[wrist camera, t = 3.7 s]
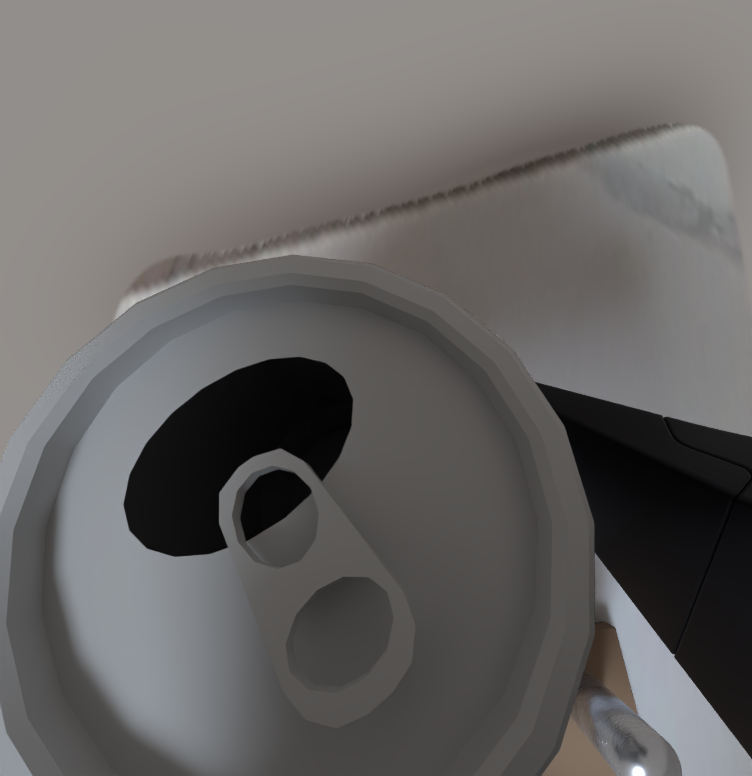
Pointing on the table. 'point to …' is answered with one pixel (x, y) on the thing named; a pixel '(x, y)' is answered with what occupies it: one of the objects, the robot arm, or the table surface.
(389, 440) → the can
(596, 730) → the standoff plate
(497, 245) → the table surface
